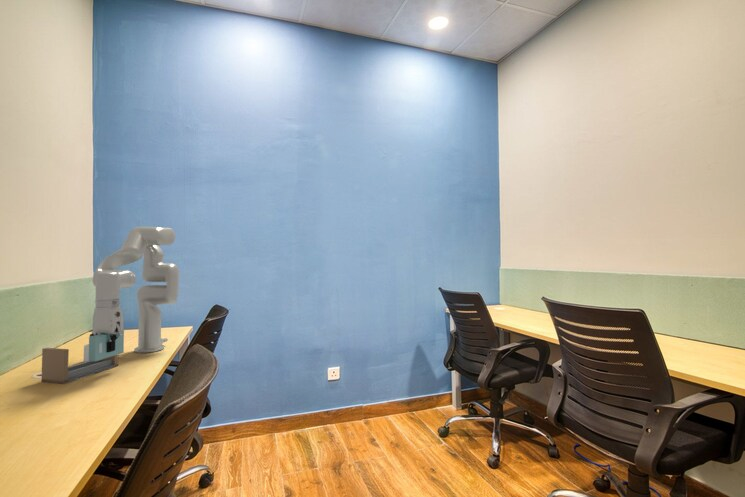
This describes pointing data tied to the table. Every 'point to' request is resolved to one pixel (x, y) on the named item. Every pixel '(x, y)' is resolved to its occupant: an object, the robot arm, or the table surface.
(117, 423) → the table surface
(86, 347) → the medicine bottle
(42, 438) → the table surface
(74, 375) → the door frame
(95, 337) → the door panel
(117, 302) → the robot arm
